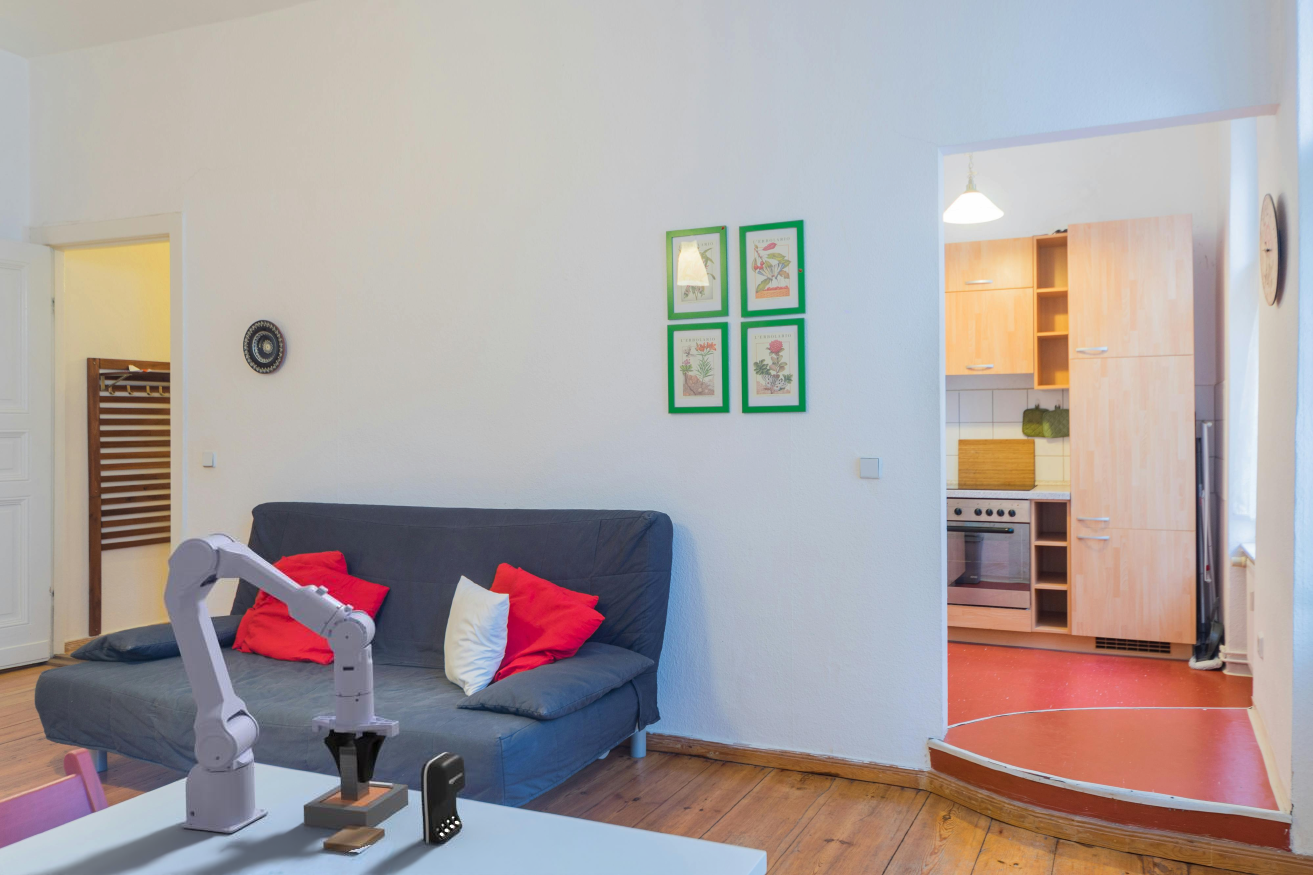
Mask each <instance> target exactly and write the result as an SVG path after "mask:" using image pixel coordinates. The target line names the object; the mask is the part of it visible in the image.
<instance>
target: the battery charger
mask: <svg viewBox="0 0 1313 875" xmlns="http://www.w3.org/2000/svg"><path fill="white" fill-rule="evenodd" d="M465 769H466V768H465V761H464V758H463V756H462V755H460V754H457V753H450V752H447V751H445V752H441V753H439V754H437V755H435V756H434V757H432V758H429V759H428V760H427V761H426V762H425V763H424V764H423V765H422V768H421V773H420V790H421V791H420V792H421V793H420V794H421V796H420V798H421V814H422V837H423V838H422V841H423V842H424V843H426V844H435V845H436V844H444V843H445V842H447V841H448V840H449V839H451V838H452V837H454V836H455V835H457V833H459V832H460V831H461V830H462V829H463V823H462V821H461V818H460V816H459V814H458V813H459V812H458V809H457V793H458V792H459V793H460V791H461V790H463V789H464V788H466V770H465Z"/></svg>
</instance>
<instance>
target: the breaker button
mask: <svg viewBox="0 0 1313 875" xmlns="http://www.w3.org/2000/svg"><path fill="white" fill-rule="evenodd" d="M390 790H391V789H388V788H377V787H369V791H370V794H369V795H367V796H365V797H364V798H362V799H360V800H359V801H352V800H342V799H341V792H339V793H337V794H335V795H334V796H332V797H330V798H328V799H327V800H325V801H323V802H321V803H329V804H339V805H348V806H358V807H364V806H366V805H367V804H369V803H370V802H372V801H374V800H375V799H377V798H378V797H380V796H382V795H383V794H385V793H386V792H388V791H390Z"/></svg>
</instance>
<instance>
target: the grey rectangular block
mask: <svg viewBox="0 0 1313 875" xmlns="http://www.w3.org/2000/svg"><path fill="white" fill-rule="evenodd" d="M339 754H340V775H339V777H340V785H341V799H342V800H352V801H359V800H360V799H362V798H364V797H365V796H367V795H369V794H370V791H369V781H370V780H369V781H368V782H366V783H361V780H360V774H359V760H358V755H357V751H356V748H355V745H354V743H353V741H351V742H349V743H347V744H345V745H343V746H341V747H340V748H339Z"/></svg>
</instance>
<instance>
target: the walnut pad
mask: <svg viewBox="0 0 1313 875" xmlns="http://www.w3.org/2000/svg"><path fill="white" fill-rule="evenodd" d="M385 831H386V830H385V828H380V827H379V828H378V827H373V828H371V827H362V826H353V825H349V826H348V827H346V828H344V829H343V830H342V829H340V831H338V832H336V833H335V834H333V835H332V836H330V837H329V838H328V839H326V840H324V841H323V842H322V846H323V847H322V848H323V850H328V851H335V852H343V853H344V852H345V853H350V852H349V851H351V850H355V849H360V848H362V847H365V846H368V845H371V846H372V845H373V844H375V843H377V842H378V841H380V840H381V839H383V838H384V837H385V836H386V835H385V834H386V833H385Z"/></svg>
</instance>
